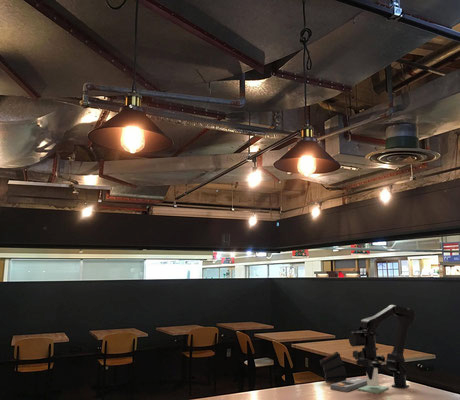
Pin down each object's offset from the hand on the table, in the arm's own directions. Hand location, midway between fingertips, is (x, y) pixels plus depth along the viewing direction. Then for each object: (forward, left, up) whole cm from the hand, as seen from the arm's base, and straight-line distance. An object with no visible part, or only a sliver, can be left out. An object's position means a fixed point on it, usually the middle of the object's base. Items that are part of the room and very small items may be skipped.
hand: (372, 378), depth 209 cm
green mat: (0, 0, -5) cm, 5 cm away
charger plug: (0, 0, -3) cm, 3 cm away
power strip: (-2, -12, -5) cm, 13 cm away
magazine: (-5, -25, -5) cm, 26 cm away
